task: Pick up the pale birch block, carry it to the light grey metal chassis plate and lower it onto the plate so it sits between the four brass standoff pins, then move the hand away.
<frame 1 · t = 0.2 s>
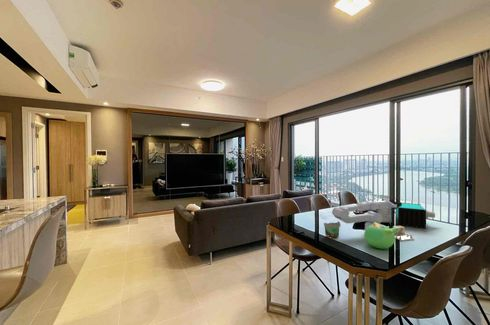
hand: (396, 203, 161), 21 cm above the table, tool horizontal, fingers open, 7 cm apart
chassis: (404, 238, 146), on the table
electronic device: (415, 224, 179), on the table
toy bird: (380, 247, 132), on the table
food container: (334, 237, 150), on the table
ink cartridge box: (384, 221, 187), on the table
birch block: (398, 233, 157), on the table
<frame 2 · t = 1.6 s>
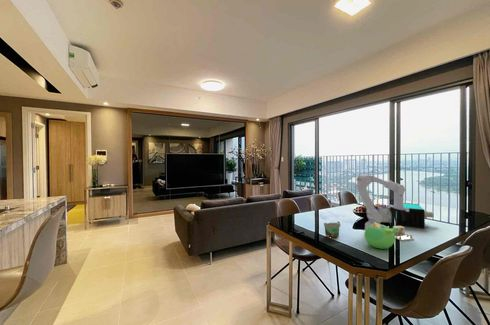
hand: (398, 219, 156), 10 cm above the table, tool pointing down, fingers open, 7 cm apart
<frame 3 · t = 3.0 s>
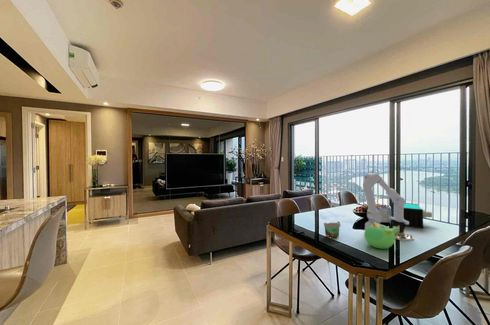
hand: (398, 231, 157), 1 cm above the table, tool pointing down, fingers closed on birch block, 4 cm apart
birch block: (398, 233, 157), on the table, touching gripper
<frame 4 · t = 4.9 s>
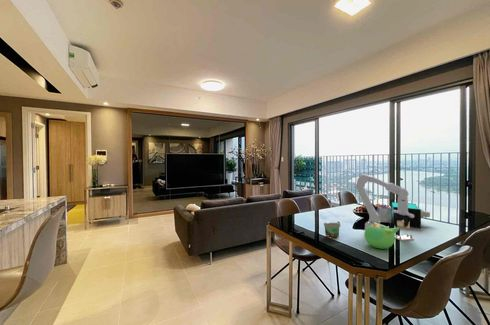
hand: (402, 225, 148), 8 cm above the table, tool pointing down, fingers closed on birch block, 4 cm apart
electronic device: (410, 223, 181), on the table
birch block: (403, 228, 148), point 6 cm above the table, touching gripper
everything else where it was.
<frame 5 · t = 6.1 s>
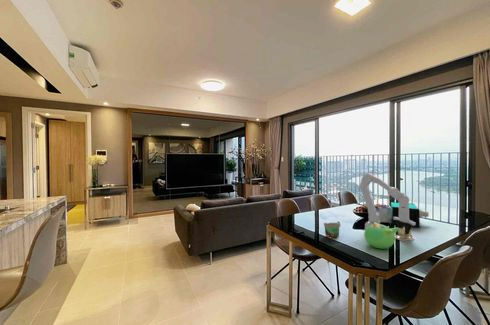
hand: (404, 232, 146), 4 cm above the table, tool pointing down, fingers closed on birch block, 4 cm apart
birch block: (404, 236, 146), point 2 cm above the table, touching gripper
when the fingers open (3 cm above the table, at t = 7.1 s): birch block stays where it is, resting on chassis.
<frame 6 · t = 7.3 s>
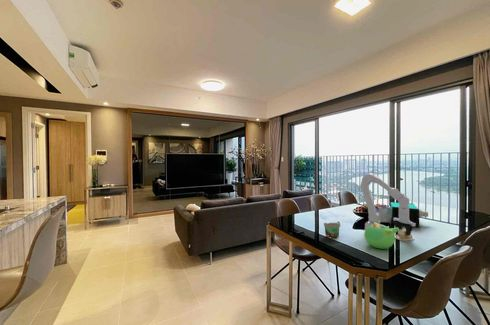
hand: (404, 233, 146), 3 cm above the table, tool pointing down, fingers open, 5 cm apart
birch block: (404, 237, 146), point 1 cm above the table, touching chassis
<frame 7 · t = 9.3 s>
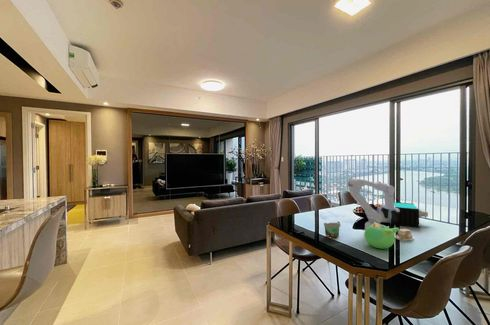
hand: (390, 219, 158), 10 cm above the table, tool pointing down, fingers open, 7 cm apart
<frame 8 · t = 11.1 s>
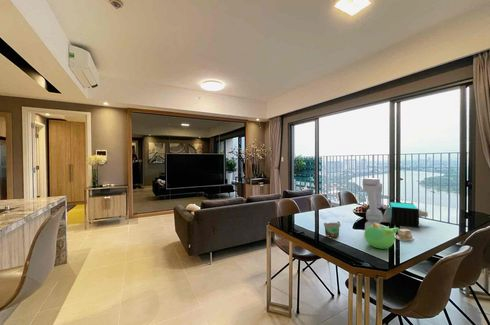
hand: (377, 215, 168), 10 cm above the table, tool pointing down, fingers open, 7 cm apart
at the end: birch block 0.4 cm off-centre on the chassis, point 1.0 cm above the chassis's base; birch block tilted 0°; the gripper is holding nothing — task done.
